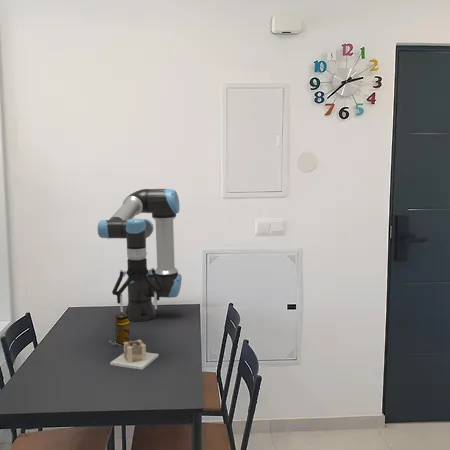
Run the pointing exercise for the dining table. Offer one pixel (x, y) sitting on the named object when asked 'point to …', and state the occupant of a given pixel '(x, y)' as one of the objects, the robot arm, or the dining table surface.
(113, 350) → the dining table surface
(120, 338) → the condiment
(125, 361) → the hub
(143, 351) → the wooden hollow block
